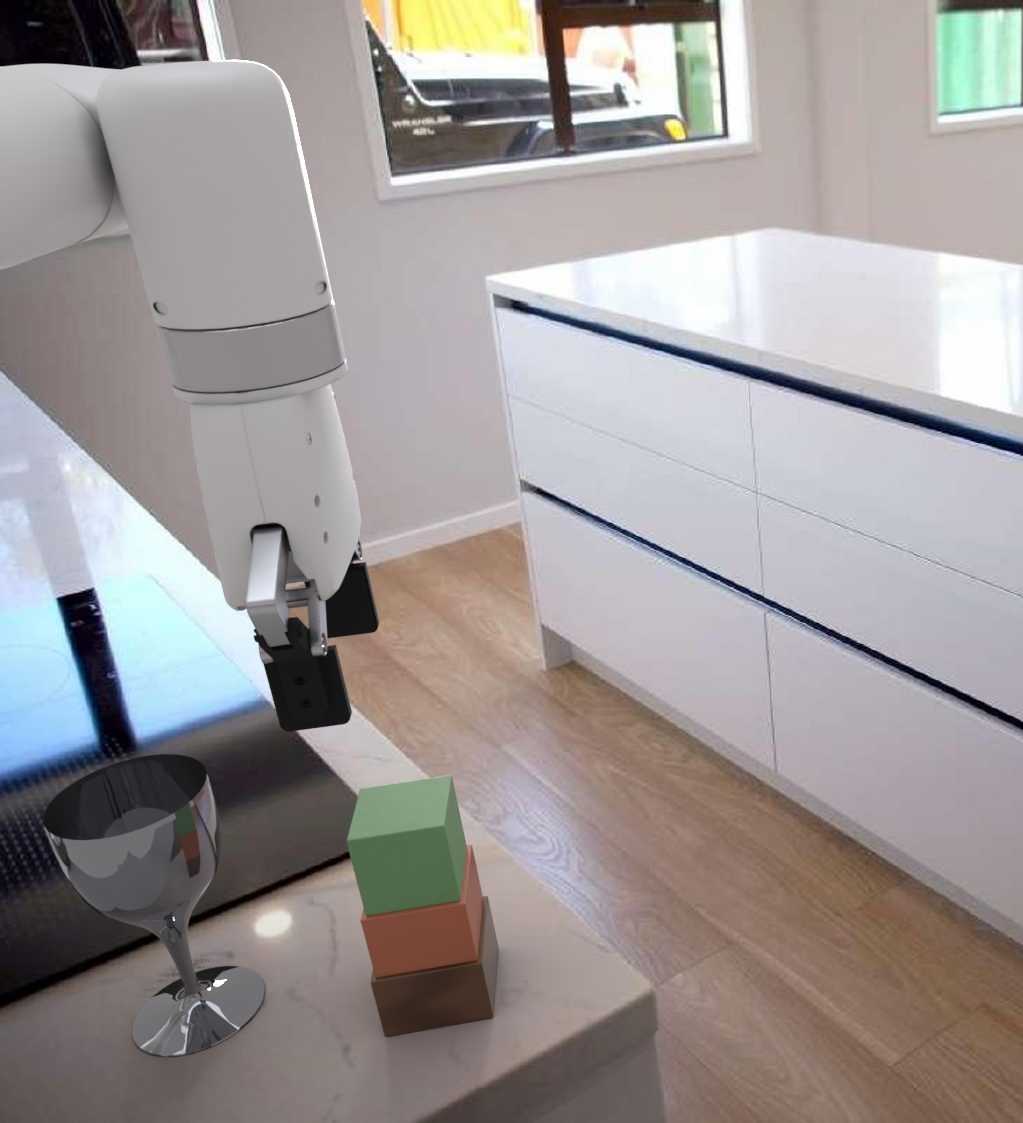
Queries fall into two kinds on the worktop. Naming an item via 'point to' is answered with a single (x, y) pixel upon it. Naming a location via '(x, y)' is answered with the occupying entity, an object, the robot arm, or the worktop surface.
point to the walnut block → (441, 989)
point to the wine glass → (155, 885)
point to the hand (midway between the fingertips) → (334, 676)
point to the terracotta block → (428, 931)
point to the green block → (407, 845)
